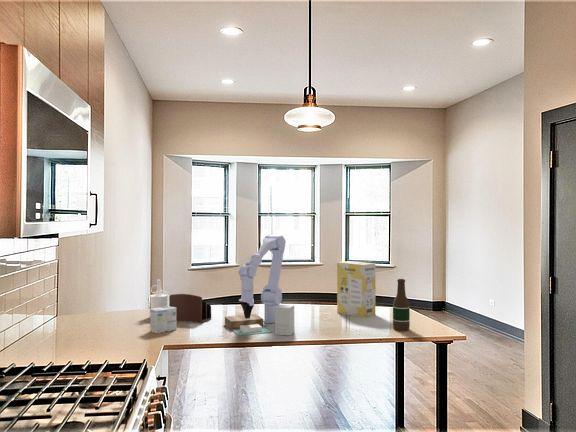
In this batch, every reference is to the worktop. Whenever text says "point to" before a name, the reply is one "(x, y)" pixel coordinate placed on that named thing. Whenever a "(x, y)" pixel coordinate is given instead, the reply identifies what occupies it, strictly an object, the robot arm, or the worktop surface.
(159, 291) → the white necked piece
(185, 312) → the letter holder
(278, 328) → the supplement box
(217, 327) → the worktop surface
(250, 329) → the cream white block
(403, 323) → the beer bottle
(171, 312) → the light bulb box
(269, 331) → the mat
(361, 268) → the pasta box
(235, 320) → the board
